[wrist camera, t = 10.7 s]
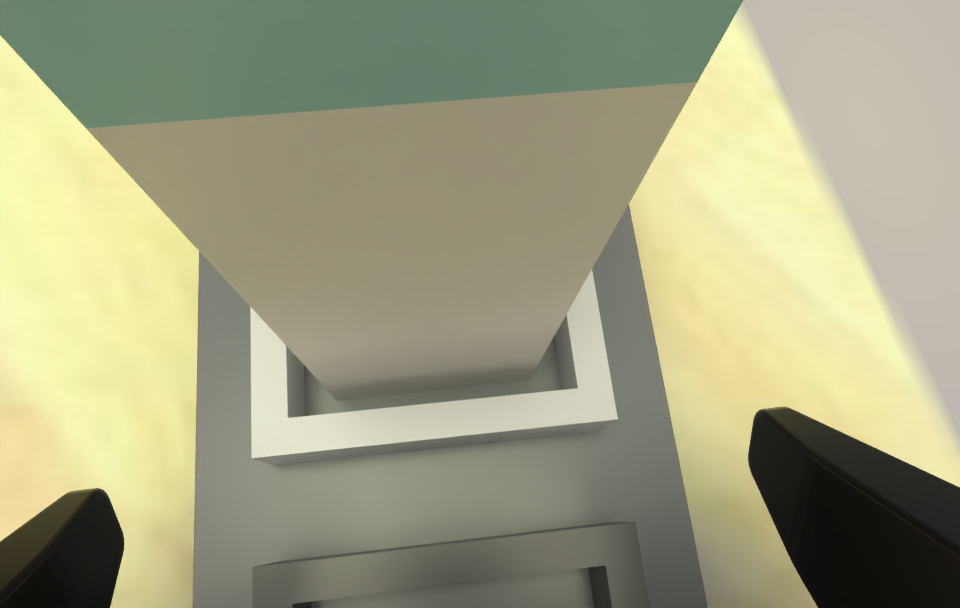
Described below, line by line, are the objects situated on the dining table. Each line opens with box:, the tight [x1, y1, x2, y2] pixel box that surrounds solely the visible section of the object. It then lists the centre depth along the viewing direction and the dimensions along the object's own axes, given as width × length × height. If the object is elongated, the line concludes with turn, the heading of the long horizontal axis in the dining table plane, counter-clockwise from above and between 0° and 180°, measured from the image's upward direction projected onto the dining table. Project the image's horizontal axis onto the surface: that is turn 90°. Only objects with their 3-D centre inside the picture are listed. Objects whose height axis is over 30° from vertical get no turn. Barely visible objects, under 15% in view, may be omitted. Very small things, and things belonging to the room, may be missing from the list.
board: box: [193, 204, 707, 608], centre depth 16 cm, size 20×12×3 cm, turn 6°
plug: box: [0, 0, 743, 400], centre depth 12 cm, size 5×5×14 cm
